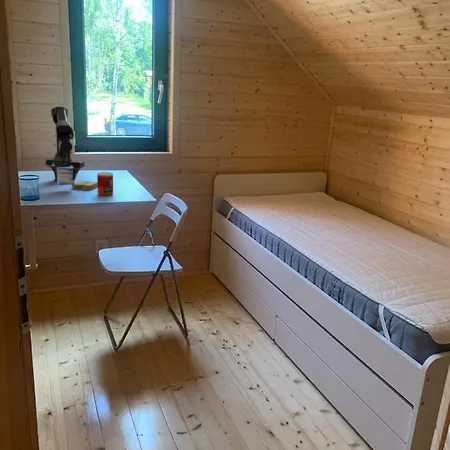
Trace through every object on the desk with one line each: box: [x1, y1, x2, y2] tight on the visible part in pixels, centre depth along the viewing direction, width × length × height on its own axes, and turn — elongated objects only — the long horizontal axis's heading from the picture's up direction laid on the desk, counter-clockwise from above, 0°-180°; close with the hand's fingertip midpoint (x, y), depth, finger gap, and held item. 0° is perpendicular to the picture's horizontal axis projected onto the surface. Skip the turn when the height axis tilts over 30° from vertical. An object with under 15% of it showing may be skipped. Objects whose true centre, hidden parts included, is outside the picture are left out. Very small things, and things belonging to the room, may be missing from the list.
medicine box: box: [56, 166, 75, 186], centre depth 246 cm, size 8×4×9 cm, turn 118°
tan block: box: [71, 180, 98, 191], centre depth 257 cm, size 10×10×3 cm
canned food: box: [96, 171, 114, 197], centre depth 243 cm, size 8×8×11 cm
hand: (65, 179), depth 247 cm, fingers closed on medicine box, 9 cm apart
